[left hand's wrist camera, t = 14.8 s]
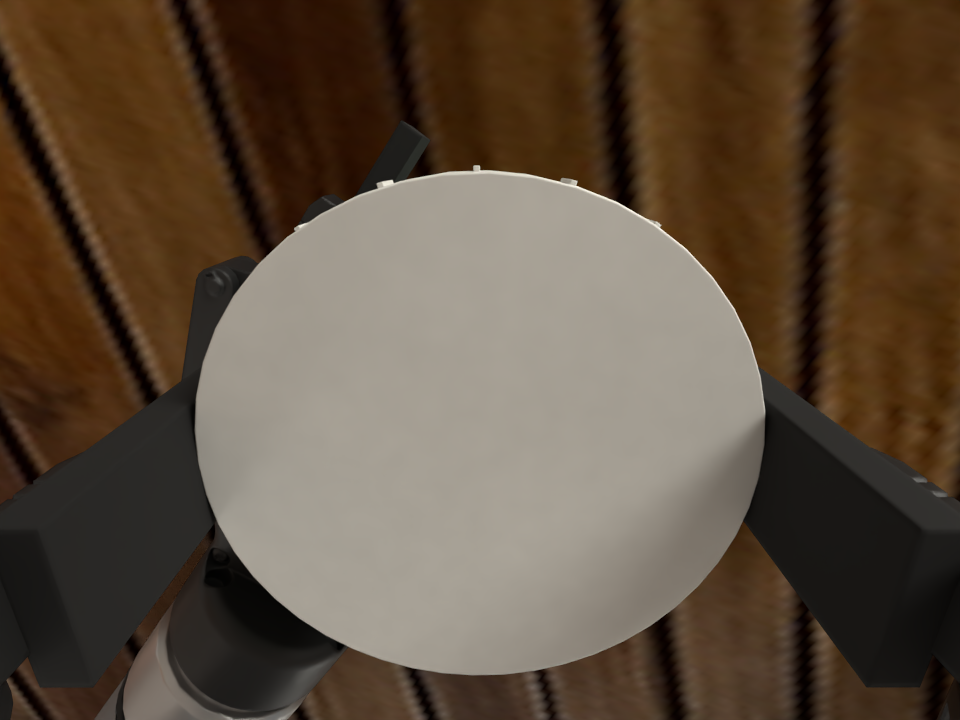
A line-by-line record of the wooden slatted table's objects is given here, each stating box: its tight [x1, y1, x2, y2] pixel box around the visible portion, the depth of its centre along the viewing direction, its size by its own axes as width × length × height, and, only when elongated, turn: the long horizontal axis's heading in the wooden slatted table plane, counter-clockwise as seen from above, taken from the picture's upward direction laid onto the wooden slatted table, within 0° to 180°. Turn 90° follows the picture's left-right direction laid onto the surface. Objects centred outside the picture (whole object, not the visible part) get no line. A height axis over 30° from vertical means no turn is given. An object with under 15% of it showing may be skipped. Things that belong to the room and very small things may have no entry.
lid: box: [195, 166, 765, 675], centre depth 11 cm, size 11×11×2 cm
